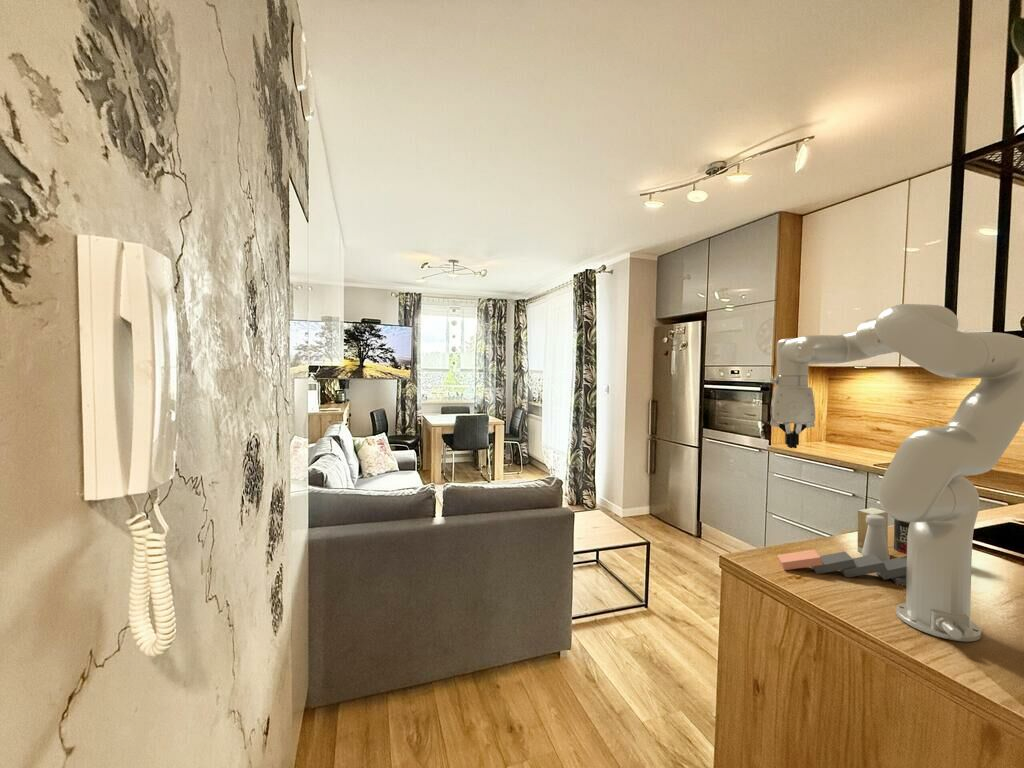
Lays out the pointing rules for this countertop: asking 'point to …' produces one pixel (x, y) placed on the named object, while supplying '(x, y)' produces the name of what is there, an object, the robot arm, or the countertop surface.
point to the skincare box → (864, 526)
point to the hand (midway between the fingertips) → (791, 447)
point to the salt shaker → (876, 538)
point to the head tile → (799, 559)
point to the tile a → (834, 563)
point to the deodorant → (900, 535)
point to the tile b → (864, 566)
